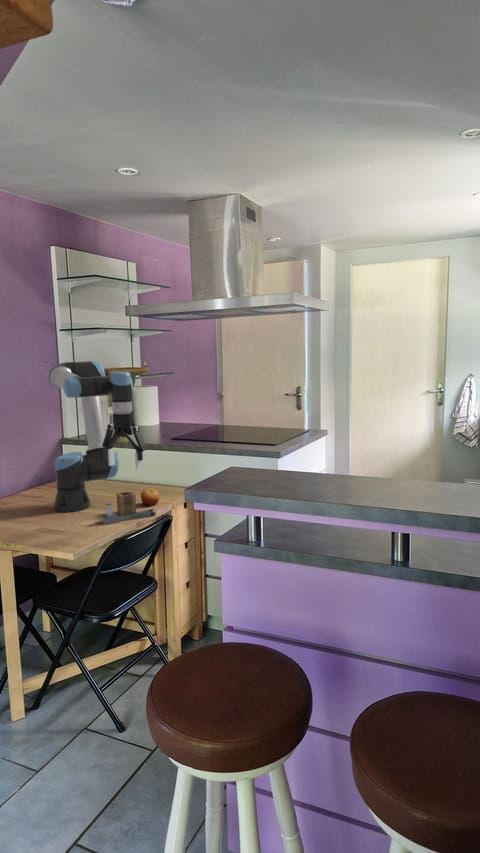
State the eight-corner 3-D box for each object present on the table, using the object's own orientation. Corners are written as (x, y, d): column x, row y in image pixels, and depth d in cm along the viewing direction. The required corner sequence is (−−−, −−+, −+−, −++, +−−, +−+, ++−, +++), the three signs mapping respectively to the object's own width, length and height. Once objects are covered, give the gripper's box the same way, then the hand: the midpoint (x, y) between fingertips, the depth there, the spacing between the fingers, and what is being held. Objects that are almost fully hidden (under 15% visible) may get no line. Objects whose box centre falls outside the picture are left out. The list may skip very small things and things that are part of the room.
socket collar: (117, 511, 226) (116, 493, 225) (132, 509, 229) (131, 491, 228) (121, 515, 221) (119, 496, 219) (136, 513, 223) (135, 494, 222)
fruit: (149, 496, 243) (154, 483, 239) (159, 508, 239) (164, 494, 235) (134, 500, 237) (139, 486, 233) (143, 512, 233) (148, 498, 229)
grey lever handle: (100, 521, 214) (99, 504, 213) (153, 512, 223) (152, 496, 222) (103, 524, 209) (102, 507, 208) (157, 516, 218) (156, 499, 217)
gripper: (91, 412, 208) (94, 465, 211) (141, 415, 196) (144, 472, 199) (104, 409, 214) (107, 461, 218) (154, 413, 202) (156, 468, 206)
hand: (125, 467), depth 209 cm, fingers open, 13 cm apart
